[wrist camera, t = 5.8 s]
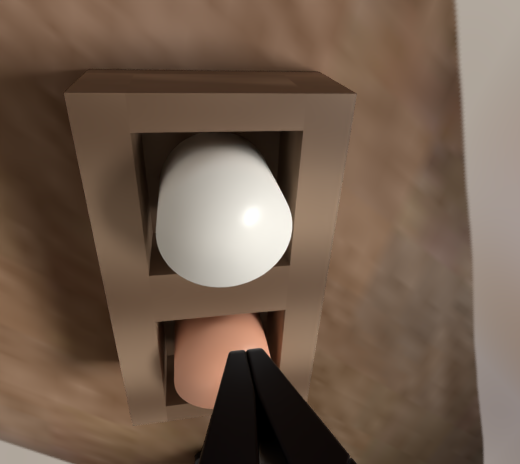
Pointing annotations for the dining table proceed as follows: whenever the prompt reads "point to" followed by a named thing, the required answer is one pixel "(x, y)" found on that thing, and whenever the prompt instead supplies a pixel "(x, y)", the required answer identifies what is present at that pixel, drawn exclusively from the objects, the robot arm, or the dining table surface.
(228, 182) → the white rounded piece
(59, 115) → the dining table surface
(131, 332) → the button console
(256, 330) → the peach rounded dome
